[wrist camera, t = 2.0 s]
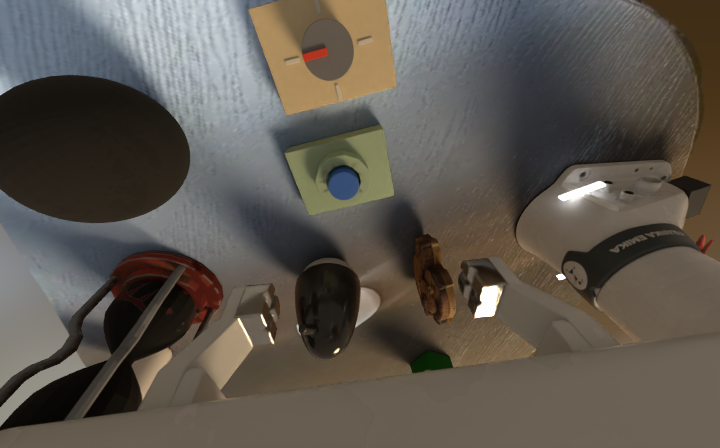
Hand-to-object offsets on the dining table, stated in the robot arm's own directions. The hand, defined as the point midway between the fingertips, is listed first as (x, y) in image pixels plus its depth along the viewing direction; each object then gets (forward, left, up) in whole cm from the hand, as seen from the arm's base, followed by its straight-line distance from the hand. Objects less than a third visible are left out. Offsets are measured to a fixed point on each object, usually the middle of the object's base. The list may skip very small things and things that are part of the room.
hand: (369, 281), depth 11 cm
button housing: (+2, +4, -25) cm, 26 cm away
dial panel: (0, -9, -25) cm, 27 cm away
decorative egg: (+22, -6, -25) cm, 34 cm away
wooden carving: (-7, +24, -25) cm, 36 cm away
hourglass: (+35, +17, -25) cm, 46 cm away
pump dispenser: (+9, +21, -25) cm, 34 cm away
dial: (0, -9, -22) cm, 24 cm away
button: (+2, +4, -22) cm, 22 cm away
